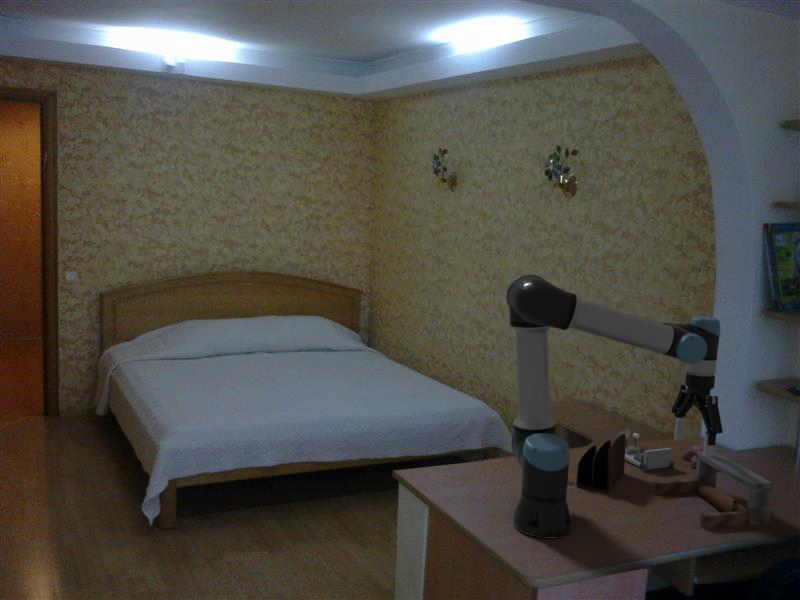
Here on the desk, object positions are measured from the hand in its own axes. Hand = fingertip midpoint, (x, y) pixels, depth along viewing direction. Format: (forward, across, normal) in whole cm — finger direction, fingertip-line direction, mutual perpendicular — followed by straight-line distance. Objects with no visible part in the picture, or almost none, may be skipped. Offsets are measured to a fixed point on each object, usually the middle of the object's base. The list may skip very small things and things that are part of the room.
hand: (693, 447), depth 216 cm
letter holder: (+18, +25, +14) cm, 34 cm away
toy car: (+18, +38, -8) cm, 43 cm away
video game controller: (+18, +33, -25) cm, 45 cm away
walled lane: (+18, 0, -7) cm, 19 cm away
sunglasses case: (+18, 0, -12) cm, 22 cm away
